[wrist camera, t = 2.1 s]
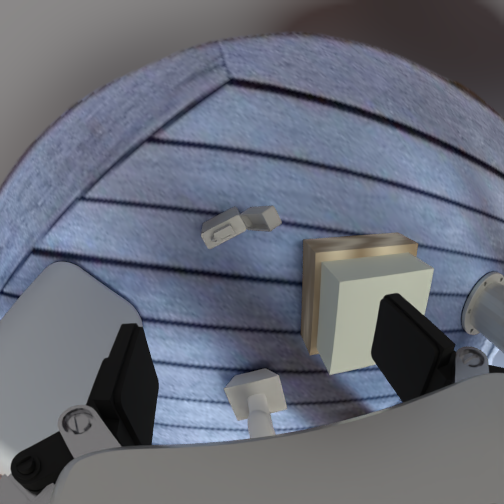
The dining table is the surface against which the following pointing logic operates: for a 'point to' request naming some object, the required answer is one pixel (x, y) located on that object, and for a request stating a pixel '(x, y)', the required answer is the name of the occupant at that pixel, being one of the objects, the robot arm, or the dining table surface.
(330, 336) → the sage top block
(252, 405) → the figurine
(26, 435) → the plastic bottle
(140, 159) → the dining table surface
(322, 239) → the birch base block
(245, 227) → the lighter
